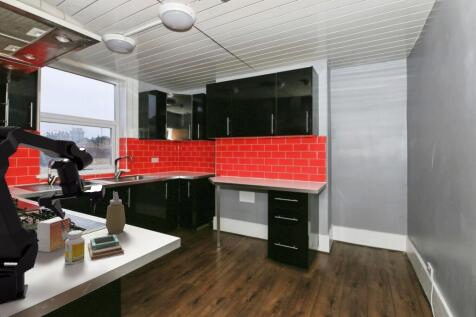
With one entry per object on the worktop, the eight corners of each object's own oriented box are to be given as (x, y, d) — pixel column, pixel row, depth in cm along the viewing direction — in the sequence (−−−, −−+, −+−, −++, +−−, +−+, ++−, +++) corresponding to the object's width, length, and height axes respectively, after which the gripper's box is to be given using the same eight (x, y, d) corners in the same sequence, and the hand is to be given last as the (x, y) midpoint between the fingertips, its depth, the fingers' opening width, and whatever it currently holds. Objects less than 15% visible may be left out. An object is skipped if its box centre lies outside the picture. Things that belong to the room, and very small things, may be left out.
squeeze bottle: (124, 233, 106) (125, 193, 106) (104, 235, 103) (104, 194, 103) (126, 228, 114) (126, 190, 113) (106, 230, 111) (107, 191, 110)
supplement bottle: (61, 265, 77) (61, 235, 77) (71, 257, 82) (71, 229, 82) (79, 264, 77) (79, 235, 77) (87, 257, 83) (87, 229, 82)
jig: (123, 253, 87) (123, 244, 87) (91, 259, 81) (91, 251, 81) (116, 240, 98) (116, 233, 98) (87, 246, 92) (87, 238, 92)
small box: (49, 252, 85) (49, 223, 85) (36, 251, 87) (36, 222, 86) (69, 244, 93) (69, 217, 93) (57, 243, 94) (57, 216, 94)
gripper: (103, 165, 91) (110, 201, 97) (44, 170, 85) (54, 209, 90) (99, 177, 81) (106, 216, 87) (31, 184, 75) (44, 226, 81)
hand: (78, 216), depth 86 cm, fingers open, 9 cm apart
